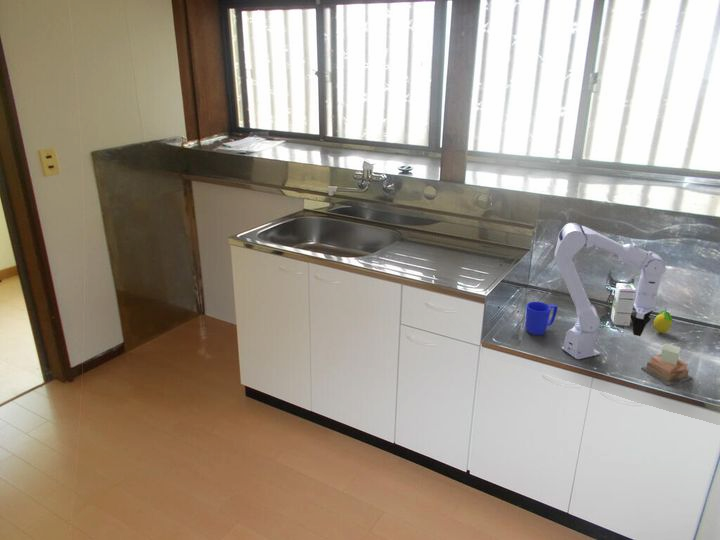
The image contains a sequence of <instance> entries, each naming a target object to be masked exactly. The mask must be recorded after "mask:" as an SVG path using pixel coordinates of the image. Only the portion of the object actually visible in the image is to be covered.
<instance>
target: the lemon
mask: <svg viewBox="0 0 720 540" xmlns="http://www.w3.org/2000/svg"><path fill="white" fill-rule="evenodd" d="M672 323H673V317H672V314H671V313H670V312H669V311H667V307H665V310H663V309H662V310H660V311H659V313H658V314H657V316H656V317H655V318H654V320H653V329H654V330H655V331H656V332H658V333H659V334H663V333H667V332H669V330H670V329H671V327H672Z"/></svg>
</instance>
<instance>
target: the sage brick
mask: <svg viewBox="0 0 720 540" xmlns="http://www.w3.org/2000/svg"><path fill="white" fill-rule="evenodd" d="M680 352H681V347H680V346H675V345H673V344H672V345H671V344H668V343H664V344H663V347H662V350H661V353H660V354H661V358H660V361H662V362H666V363H669V364H673V365H676V364H677V361H678V358H680Z"/></svg>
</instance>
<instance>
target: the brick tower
mask: <svg viewBox="0 0 720 540" xmlns="http://www.w3.org/2000/svg"><path fill="white" fill-rule="evenodd" d="M661 354H662V353H660V354H657V355H654V356H651V357H650V361H648V362H647V363H646V366H641V367H640V368H641V370H642V371H643V372H644V373H647V374H649V375H650V376H651V377H653V378H654V379H657V381H659V382H661V383H662V382H663V383H662V384H664V383H665V384H664V385H666V386H667V385H669V386H671V385H675V384H680V383H683V382H687V381H690V380H693V377H692V376H691V375H689V371H690V370H689V369H687V367H688V362H686V361H684V360H682V359H680V357H678V361H677V364H676V365H673V364H669V363H666V362H662V361H660V358H661Z"/></svg>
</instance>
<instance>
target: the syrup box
mask: <svg viewBox="0 0 720 540" xmlns="http://www.w3.org/2000/svg"><path fill="white" fill-rule="evenodd" d="M636 293H637V289H636V288H635V285H634V284H632V283H628V282H627V283H626V282H625V283H624V282H621V283H619V282H616V286H615V290H614V297H613V302H612V307H611V312H610V319H611V321H612V324H613V325H615V326H622V327H627V326H628V327H630V325H631V322H632V319H631V317H630V315H631V313H633V309H634V305H633V304H634V302H635V298H636Z"/></svg>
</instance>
